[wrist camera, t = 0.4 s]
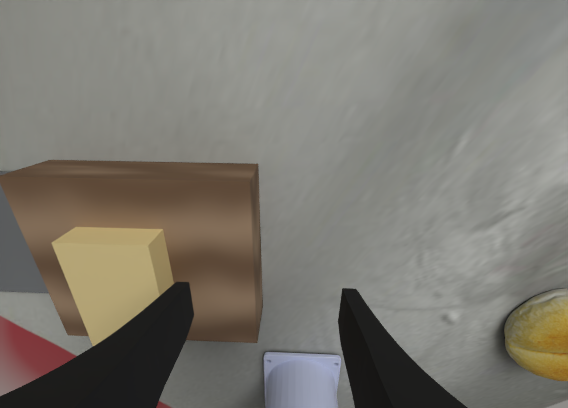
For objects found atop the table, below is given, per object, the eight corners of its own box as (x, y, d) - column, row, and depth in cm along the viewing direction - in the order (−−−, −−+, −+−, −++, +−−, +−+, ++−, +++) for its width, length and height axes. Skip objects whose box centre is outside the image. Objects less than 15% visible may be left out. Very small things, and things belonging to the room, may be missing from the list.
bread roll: (603, 275, 23) (661, 311, 20) (585, 347, 27) (632, 388, 23) (499, 293, 24) (536, 330, 21) (495, 359, 28) (526, 401, 24)
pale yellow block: (182, 326, 22) (172, 349, 20) (109, 324, 22) (93, 345, 20) (163, 229, 18) (148, 245, 16) (75, 226, 18) (51, 242, 16)
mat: (91, 292, 26) (89, 294, 26) (1, 289, 26) (-2, 291, 26) (47, 172, 21) (44, 173, 21) (-63, 170, 21) (-67, 171, 21)
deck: (262, 306, 26) (257, 343, 22) (99, 300, 26) (67, 335, 23) (258, 163, 20) (249, 181, 16) (49, 159, 21) (-4, 176, 17)
